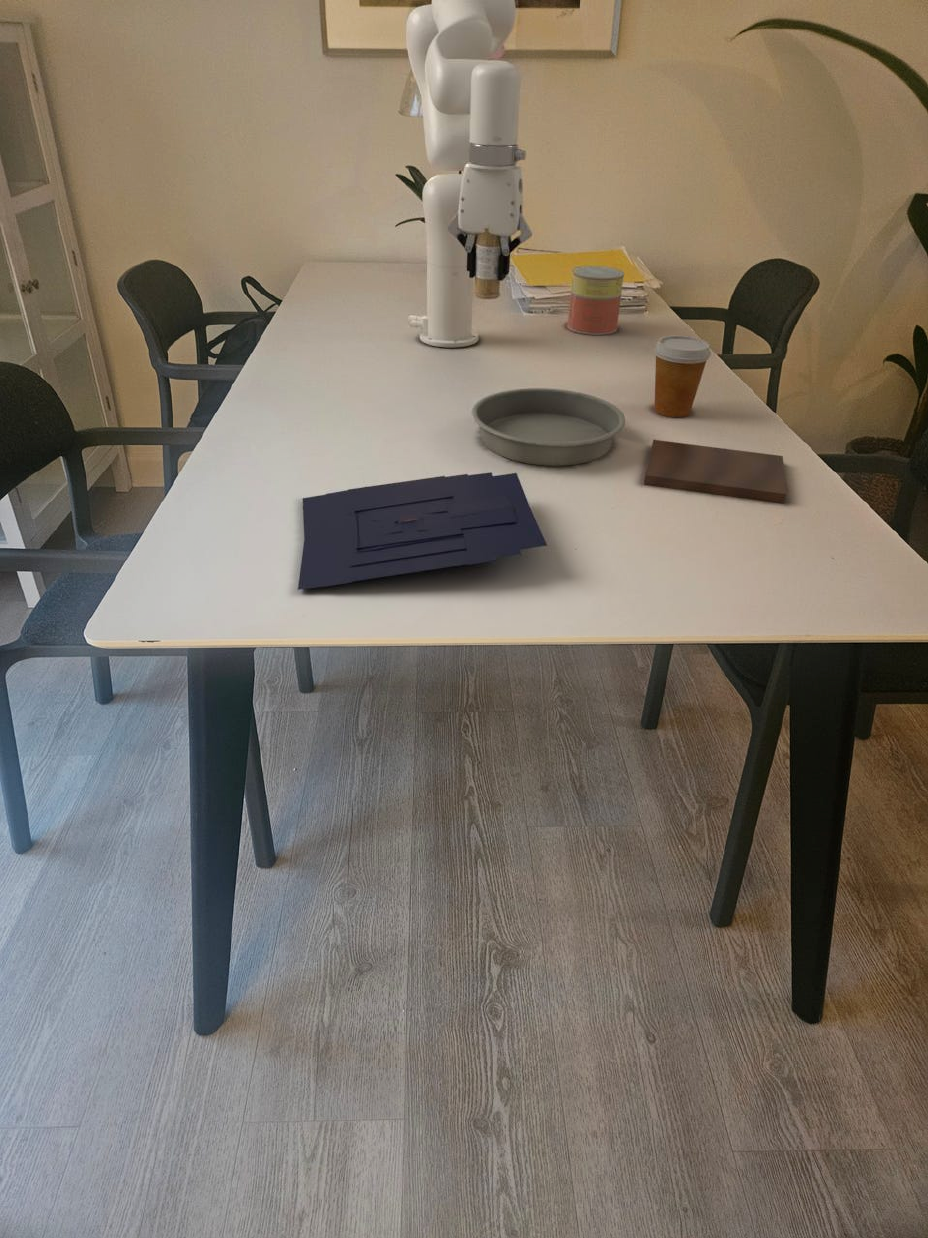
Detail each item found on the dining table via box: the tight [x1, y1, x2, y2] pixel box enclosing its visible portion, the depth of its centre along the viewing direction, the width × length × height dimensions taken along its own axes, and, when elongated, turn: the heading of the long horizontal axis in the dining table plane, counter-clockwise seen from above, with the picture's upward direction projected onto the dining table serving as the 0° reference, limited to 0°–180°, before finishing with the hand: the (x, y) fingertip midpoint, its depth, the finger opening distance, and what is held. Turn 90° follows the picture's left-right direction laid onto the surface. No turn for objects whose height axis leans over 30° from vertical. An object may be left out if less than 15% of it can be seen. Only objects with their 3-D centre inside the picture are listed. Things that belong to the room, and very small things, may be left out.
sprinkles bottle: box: [473, 222, 502, 300], centre depth 144 cm, size 5×5×14 cm
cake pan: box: [471, 387, 626, 467], centre depth 139 cm, size 25×25×4 cm
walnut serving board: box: [643, 439, 787, 504], centre depth 130 cm, size 20×14×2 cm
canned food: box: [566, 265, 625, 336], centre depth 190 cm, size 11×11×12 cm
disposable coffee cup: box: [653, 335, 712, 418], centre depth 149 cm, size 10×10×12 cm
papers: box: [297, 471, 548, 591], centre depth 111 cm, size 24×30×4 cm
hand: (487, 276), depth 146 cm, fingers closed on sprinkles bottle, 4 cm apart
